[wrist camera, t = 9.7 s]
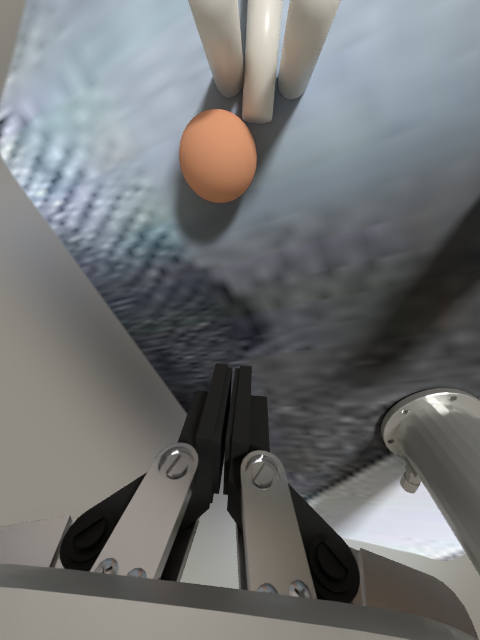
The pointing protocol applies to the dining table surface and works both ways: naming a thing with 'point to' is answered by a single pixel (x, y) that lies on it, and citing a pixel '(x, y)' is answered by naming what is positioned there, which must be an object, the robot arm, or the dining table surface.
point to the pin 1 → (221, 42)
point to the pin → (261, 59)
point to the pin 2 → (303, 43)
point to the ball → (218, 155)
